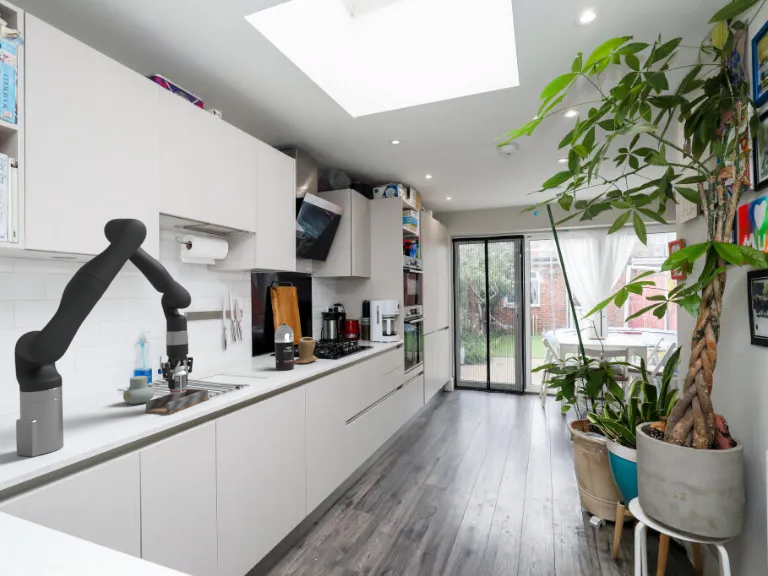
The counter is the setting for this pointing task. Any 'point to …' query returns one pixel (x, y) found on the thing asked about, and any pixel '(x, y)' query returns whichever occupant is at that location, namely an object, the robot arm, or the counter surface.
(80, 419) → the counter surface
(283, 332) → the black labeled bottle
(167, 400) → the grey tray
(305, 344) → the stone cup
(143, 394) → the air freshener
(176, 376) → the pill bottle
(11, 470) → the counter surface
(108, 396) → the counter surface
